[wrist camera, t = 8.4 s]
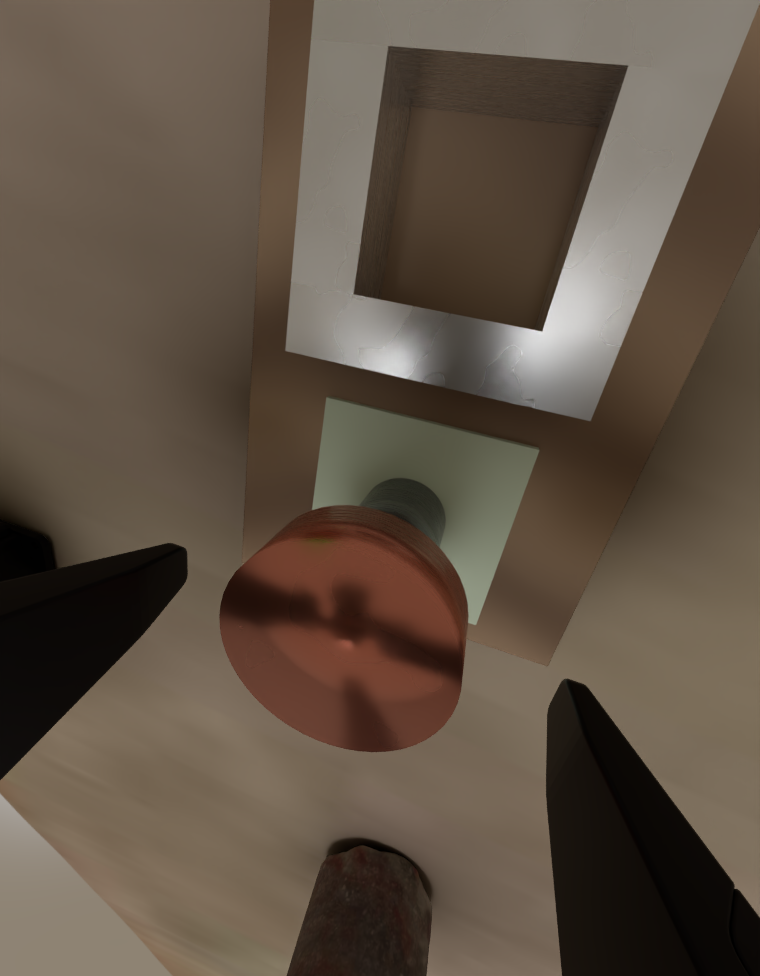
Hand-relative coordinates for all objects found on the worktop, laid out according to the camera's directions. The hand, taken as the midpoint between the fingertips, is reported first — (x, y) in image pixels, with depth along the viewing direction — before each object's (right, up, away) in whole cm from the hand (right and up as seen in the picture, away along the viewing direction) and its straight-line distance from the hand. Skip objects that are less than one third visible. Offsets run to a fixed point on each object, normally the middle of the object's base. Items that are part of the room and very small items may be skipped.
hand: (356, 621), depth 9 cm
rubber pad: (+1, +2, +5) cm, 6 cm away
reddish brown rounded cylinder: (+1, +2, +5) cm, 6 cm away
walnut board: (+3, +7, +5) cm, 9 cm away
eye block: (+3, +10, +2) cm, 11 cm away
